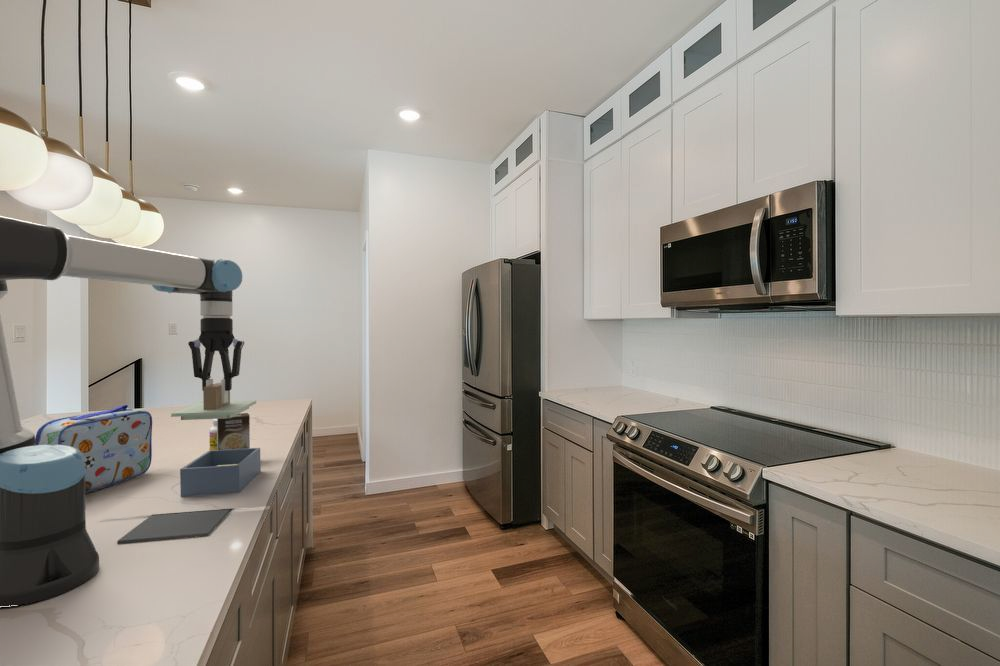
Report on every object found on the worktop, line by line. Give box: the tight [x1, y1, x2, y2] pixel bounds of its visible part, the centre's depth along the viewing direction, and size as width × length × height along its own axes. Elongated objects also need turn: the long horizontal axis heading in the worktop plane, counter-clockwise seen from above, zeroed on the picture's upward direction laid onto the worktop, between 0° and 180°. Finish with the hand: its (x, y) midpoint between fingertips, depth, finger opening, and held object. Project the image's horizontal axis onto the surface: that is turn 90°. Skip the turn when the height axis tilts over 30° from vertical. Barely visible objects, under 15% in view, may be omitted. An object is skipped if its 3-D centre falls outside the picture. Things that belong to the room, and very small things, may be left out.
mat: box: [116, 507, 234, 545], centre depth 108 cm, size 22×17×1 cm
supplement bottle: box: [208, 419, 217, 450], centre depth 160 cm, size 7×7×13 cm
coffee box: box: [217, 412, 251, 450], centre depth 149 cm, size 9×6×16 cm
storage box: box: [179, 447, 261, 498], centre depth 130 cm, size 18×14×8 cm
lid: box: [171, 382, 257, 421], centre depth 127 cm, size 18×14×8 cm
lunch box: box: [35, 404, 153, 494], centre depth 131 cm, size 28×10×22 cm, turn 168°
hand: (217, 402), depth 126 cm, fingers closed on lid, 3 cm apart
